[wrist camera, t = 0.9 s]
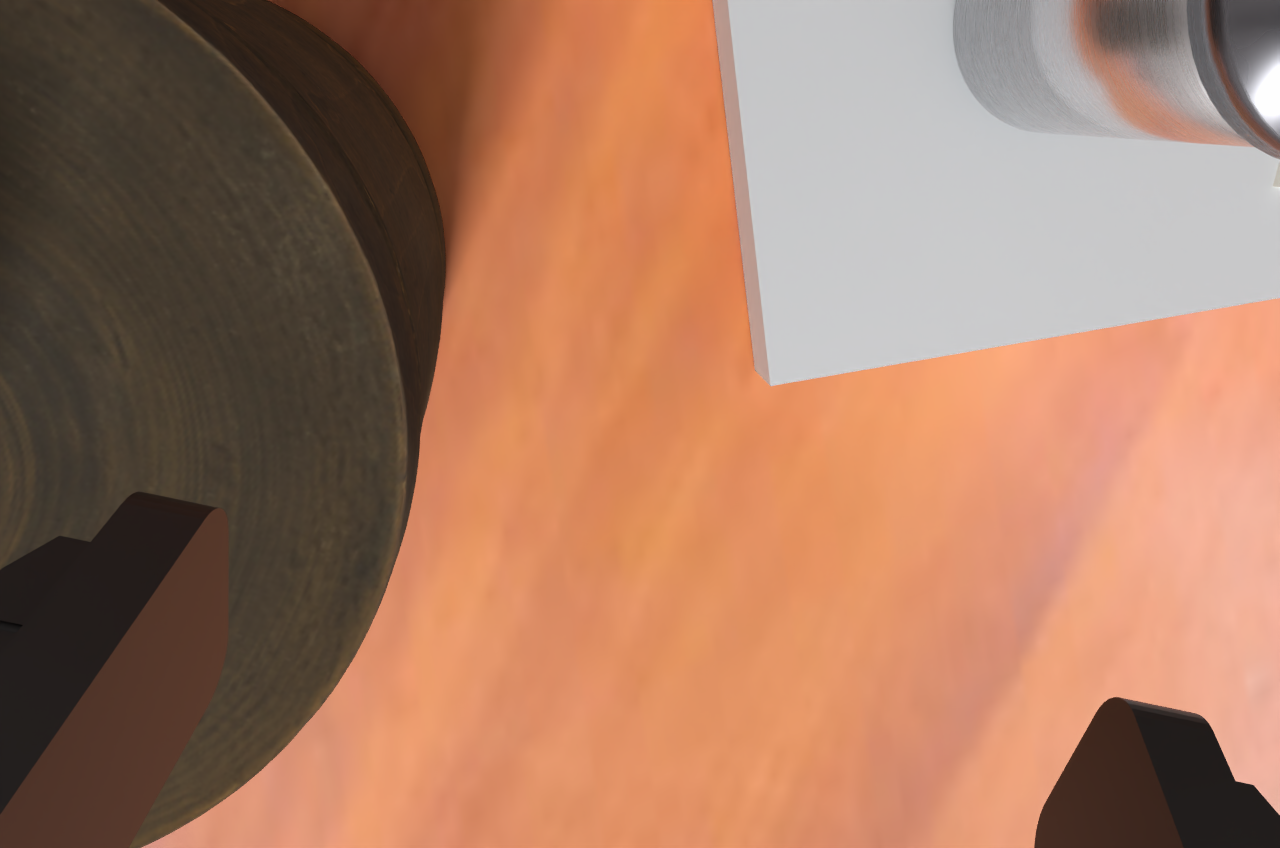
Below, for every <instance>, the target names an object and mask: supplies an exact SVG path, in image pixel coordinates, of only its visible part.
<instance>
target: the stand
mask: <svg viewBox="0 0 1280 848" xmlns="http://www.w3.org/2000/svg"><path fill="white" fill-rule="evenodd" d="M712 1H713V10H714V19H715V27H716V36H717V45H718V54H719V62H720V71H721V80H722V88H723V97H724V106H725V114H726V123H727V132H728V140H729V149H730V158H731V167H732V175H733V184H734V193H735V201H736V210H737V219H738V227H739V236H740V245H741V254H742V262H743V271H744V280H745V288H746V297H747V306H748V314H749V323H750V332H751V341H752V349H753V358H754V367H755V371H756V372H757V373H758V374H759V375H760V376H761V377H762V378H763V379H764V380H765V381H766V382H767V383H768V384H769V385H770V386H773V385H779V384H785V383H791V382H797V381H802V380H808V379H814V378H820V377H825V376H831V375H837V374H843V373H849V372H854V371H860V370H866V369H872V368H877V367H883V366H889V365H895V364H901V363H906V362H912V361H918V360H924V359H930V358H935V357H941V356H947V355H953V354H958V353H964V352H970V351H976V350H982V349H987V348H993V347H999V346H1005V345H1010V344H1016V343H1022V342H1028V341H1034V340H1039V339H1045V338H1051V337H1057V336H1062V335H1068V334H1074V333H1080V332H1086V331H1091V330H1097V329H1103V328H1109V327H1114V326H1120V325H1126V324H1132V323H1138V322H1143V321H1149V320H1155V319H1161V318H1167V317H1172V316H1178V315H1184V314H1190V313H1195V312H1201V311H1207V310H1213V309H1219V308H1224V307H1230V306H1236V305H1242V304H1247V303H1253V302H1259V301H1265V300H1271V299H1276V298H1280V159H1277V158H1274V157H1271V156H1270V155H1268V154H1266V153H1264V152H1262V151H1261V150H1259V149H1257V148H1255V147H1244V146H1229V145H1214V144H1199V143H1184V142H1169V141H1153V140H1138V139H1123V138H1108V137H1093V136H1078V135H1063V134H1048V133H1035V132H1030V131H1024V130H1021V129H1018V128H1015V127H1012V126H1010V125H1008V124H1006V123H1004V122H1002V121H1001V120H999V119H997V118H996V117H995V116H993V115H992V114H991V113H989V112H988V111H987V110H986V109H985V108H984V107H983V106H982V105H981V104H980V103H979V102H978V101H977V99H976V98H975V97H974V95H973V94H972V93H971V91H970V90H969V88H968V86H967V84H966V83H965V81H964V79H963V76H962V74H961V71H960V69H959V66H958V63H957V59H956V55H955V50H954V42H953V16H954V7H955V2H956V0H712Z"/></svg>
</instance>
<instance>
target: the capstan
mask: <svg viewBox="0 0 1280 848" xmlns="http://www.w3.org/2000/svg"><path fill="white" fill-rule="evenodd" d="M953 42H954V50H955V55H956V59H957V63H958V66H959V69H960V71H961V74H962V76H963V79H964V81H965V83H966V84H967V86H968V88H969V90H970V91H971V93H972V94H973V95H974V97H975V98H976V99H977V101H978V102H979V103H980V104H981V105H982V106H983V107H984V108H985V109H986V110H987V111H988V112H989V113H991V114H992V115H993V116H995V117H996V118H997V119H999V120H1001V121H1002V122H1004V123H1006V124H1008V125H1010V126H1012V127H1015V128H1018V129H1021V130H1024V131H1030V132H1035V133H1048V134H1063V135H1078V136H1093V137H1108V138H1123V139H1138V140H1153V141H1169V142H1184V143H1199V144H1214V145H1229V146H1244V147H1255V148H1257V149H1259V150H1261V151H1262V152H1264V153H1266V154H1268V155H1270V156H1271V157H1274V158H1277V159H1280V0H956V2H955V7H954V16H953Z"/></svg>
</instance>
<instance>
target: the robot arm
mask: <svg viewBox="0 0 1280 848" xmlns="http://www.w3.org/2000/svg"><path fill="white" fill-rule="evenodd" d="M228 593H229V529H228V519H227V515H226V513H225V511H224V510H223V509H221V508H218V507H213V506H208V505H203V504H198V503H193V502H189V501H184V500H179V499H174V498H169V497H165V496H160V495H155V494H150V493H145V492H135V493H133V494H131V495H130V496H129V497H127V498H126V500H125V501H124V502H123V503H122V504H121V505H120V506H119V508H118V509H117V510H116V511H115V513H114V514H113V515H112V516H111V518H110V519H109V520H108V521H107V522H106V524H105V525H104V526H103V527H102V529H101V530H100V531H99V532H98V534H97V535H96V536H95V537H94V538H93V540H92V541H91V542H88V541H84V540H79V539H74V538H69V537H64V536H58V537H56V538H54V539H53V540H51V541H49V542H47V543H45V544H44V545H42V546H40V547H38V548H37V549H35V550H33V551H31V552H30V553H28V554H26V555H24V556H23V557H21V558H19V559H17V560H16V561H14V562H12V563H10V564H9V565H7V566H5V567H3V568H2V569H1V570H0V848H129V847H130V845H131V843H132V841H133V839H134V838H135V836H136V834H137V832H138V831H139V829H140V827H141V825H142V823H143V822H144V820H145V818H146V816H147V814H148V813H149V811H150V809H151V807H152V805H153V804H154V802H155V800H156V798H157V797H158V795H159V793H160V791H161V789H162V788H163V786H164V784H165V782H166V780H167V779H168V777H169V775H170V773H171V772H172V770H173V768H174V766H175V764H176V763H177V761H178V759H179V757H180V755H181V754H182V752H183V750H184V748H185V747H186V745H187V743H188V741H189V739H190V738H191V736H192V734H193V732H194V730H195V729H196V727H197V725H198V723H199V721H200V720H201V718H202V716H203V714H204V713H205V711H206V709H207V707H208V705H209V703H210V701H211V699H212V697H213V695H214V692H215V690H216V687H217V685H218V682H219V679H220V676H221V672H222V669H223V665H224V661H225V656H226V651H227V644H228ZM1035 848H1280V815H1279V814H1278V813H1277V812H1276V811H1275V810H1274V808H1273V807H1272V806H1271V805H1270V804H1269V803H1268V802H1267V800H1266V799H1265V798H1264V797H1263V796H1262V795H1261V793H1260V792H1259V791H1258V790H1257V789H1256V788H1255V786H1254V785H1251V784H1246V783H1241V782H1236V781H1235V779H1234V777H1233V775H1232V773H1231V770H1230V768H1229V766H1228V764H1227V761H1226V759H1225V757H1224V755H1223V752H1222V750H1221V748H1220V746H1219V743H1218V741H1217V739H1216V737H1215V734H1214V732H1213V730H1212V728H1211V726H1210V725H1209V723H1208V722H1207V721H1206V720H1205V719H1204V718H1203V717H1202V716H1200V715H1198V714H1195V713H1191V712H1186V711H1181V710H1177V709H1172V708H1167V707H1162V706H1157V705H1152V704H1148V703H1143V702H1138V701H1133V700H1128V699H1124V698H1119V697H1113V698H1110V699H1108V700H1107V701H1106V702H1104V703H1103V704H1102V705H1101V707H1100V708H1099V709H1098V711H1097V712H1096V714H1095V716H1094V718H1093V719H1092V721H1091V723H1090V725H1089V726H1088V728H1087V730H1086V732H1085V733H1084V735H1083V737H1082V739H1081V741H1080V742H1079V744H1078V746H1077V748H1076V749H1075V751H1074V753H1073V755H1072V756H1071V758H1070V760H1069V762H1068V764H1067V765H1066V767H1065V769H1064V771H1063V772H1062V774H1061V776H1060V778H1059V780H1058V781H1057V783H1056V785H1055V787H1054V788H1053V790H1052V792H1051V794H1050V795H1049V797H1048V799H1047V801H1046V803H1045V805H1044V807H1043V809H1042V812H1041V814H1040V817H1039V821H1038V825H1037V830H1036V837H1035Z"/></svg>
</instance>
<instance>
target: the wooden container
mask: <svg viewBox="0 0 1280 848" xmlns="http://www.w3.org/2000/svg"><path fill="white" fill-rule="evenodd" d="M444 288H445V241H444V231H443V223H442V217H441V212H440V208H439V203H438V199H437V196H436V192H435V189H434V186H433V183H432V180H431V177H430V174H429V171H428V169H427V166H426V163H425V160H424V158H423V156H422V153H421V151H420V149H419V147H418V145H417V143H416V141H415V139H414V137H413V135H412V133H411V131H410V130H409V128H408V126H407V124H406V123H405V121H404V119H403V118H402V116H401V115H400V113H399V111H398V110H397V108H396V107H395V105H394V104H393V102H392V101H391V100H390V98H389V97H388V95H387V94H386V93H385V92H384V90H383V89H382V88H381V87H380V85H379V84H378V83H377V82H376V81H375V80H374V78H373V77H372V76H371V75H370V74H369V73H368V72H367V71H366V70H365V68H364V67H363V66H362V65H361V64H360V63H359V62H358V61H357V60H356V59H355V58H354V57H352V56H351V55H350V54H349V53H348V52H347V51H346V50H344V49H343V48H342V47H341V46H339V45H338V44H337V43H336V42H334V41H333V40H332V39H330V38H329V37H328V36H327V35H325V34H324V33H323V32H321V31H320V30H318V29H317V28H315V27H314V26H313V25H311V24H310V23H308V22H306V21H305V20H303V19H302V18H300V17H298V16H296V15H295V14H293V13H291V12H289V11H287V10H285V9H284V8H282V7H280V6H278V5H276V4H273V3H271V2H269V1H267V0H0V570H1V569H2V568H3V567H5V566H7V565H9V564H10V563H12V562H14V561H16V560H17V559H19V558H21V557H23V556H24V555H26V554H28V553H30V552H31V551H33V550H35V549H37V548H38V547H40V546H42V545H44V544H45V543H47V542H49V541H51V540H53V539H54V538H56V537H58V536H64V537H69V538H74V539H79V540H84V541H88V542H91V541H92V540H93V538H94V537H95V536H96V535H97V534H98V532H99V531H100V530H101V529H102V527H103V526H104V525H105V524H106V522H107V521H108V520H109V519H110V518H111V516H112V515H113V514H114V513H115V511H116V510H117V509H118V508H119V506H120V505H121V504H122V503H123V502H124V501H125V500H126V498H127V497H129V496H130V495H131V494H133V493H135V492H145V493H150V494H155V495H160V496H165V497H169V498H174V499H179V500H184V501H189V502H193V503H198V504H203V505H208V506H213V507H218V508H221V509H223V510H224V511H225V513H226V515H227V519H228V529H229V593H228V644H227V651H226V656H225V661H224V665H223V669H222V672H221V676H220V679H219V682H218V685H217V687H216V690H215V692H214V695H213V697H212V699H211V701H210V703H209V705H208V707H207V709H206V711H205V713H204V714H203V716H202V718H201V720H200V721H199V723H198V725H197V727H196V729H195V730H194V732H193V734H192V736H191V738H190V739H189V741H188V743H187V745H186V747H185V748H184V750H183V752H182V754H181V755H180V757H179V759H178V761H177V763H176V764H175V766H174V768H173V770H172V772H171V773H170V775H169V777H168V779H167V780H166V782H165V784H164V786H163V788H162V789H161V791H160V793H159V795H158V797H157V798H156V800H155V802H154V804H153V805H152V807H151V809H150V811H149V813H148V814H147V816H146V818H145V820H144V822H143V823H142V825H141V827H140V829H139V831H138V832H137V834H136V836H135V838H134V839H133V841H132V843H131V845H130V847H129V848H141V847H143V846H145V845H148V844H150V843H152V842H154V841H156V840H158V839H160V838H162V837H164V836H166V835H168V834H170V833H172V832H173V831H175V830H177V829H179V828H181V827H182V826H184V825H185V824H187V823H189V822H190V821H192V820H194V819H196V818H198V817H199V816H201V815H202V814H204V813H205V812H207V811H208V810H210V809H211V808H213V807H214V806H216V805H217V804H219V803H220V802H221V801H223V800H224V799H226V798H227V797H228V796H230V795H231V794H233V793H234V792H235V791H237V790H238V789H239V788H240V787H242V786H243V785H244V784H245V783H247V782H248V781H249V780H250V779H251V778H253V777H254V776H255V775H256V774H257V773H259V772H260V771H261V770H262V769H263V768H264V767H265V766H266V765H267V764H268V763H269V762H270V761H271V760H273V759H274V758H275V757H276V756H277V755H278V754H279V753H280V752H281V751H282V750H283V749H284V748H285V747H286V746H287V745H288V744H289V743H290V742H291V741H292V739H293V738H294V737H295V736H296V735H297V733H298V732H299V731H300V730H301V729H302V728H303V727H304V725H305V724H306V723H307V722H308V721H309V720H310V719H311V718H312V717H313V715H314V714H315V713H316V712H317V711H318V710H319V709H320V707H321V706H322V705H323V703H324V702H325V700H326V699H327V698H328V696H329V695H330V694H331V693H332V691H333V690H334V688H335V687H336V685H337V684H338V682H339V681H340V679H341V678H342V676H343V675H344V673H345V671H346V670H347V668H348V667H349V665H350V663H351V662H352V660H353V658H354V657H355V655H356V653H357V651H358V649H359V647H360V646H361V644H362V642H363V640H364V638H365V636H366V634H367V632H368V630H369V628H370V626H371V624H372V621H373V619H374V617H375V615H376V612H377V610H378V608H379V606H380V603H381V601H382V598H383V596H384V593H385V591H386V588H387V585H388V582H389V579H390V576H391V573H392V570H393V567H394V564H395V561H396V558H397V556H398V552H399V549H400V546H401V543H402V540H403V536H404V533H405V530H406V526H407V521H408V517H409V513H410V508H411V503H412V498H413V493H414V488H415V482H416V475H417V468H418V459H419V446H420V433H421V427H422V422H423V418H424V414H425V411H426V407H427V404H428V400H429V395H430V391H431V386H432V382H433V377H434V372H435V366H436V361H437V354H438V348H439V342H440V334H441V323H442V309H443V297H444Z"/></svg>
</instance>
